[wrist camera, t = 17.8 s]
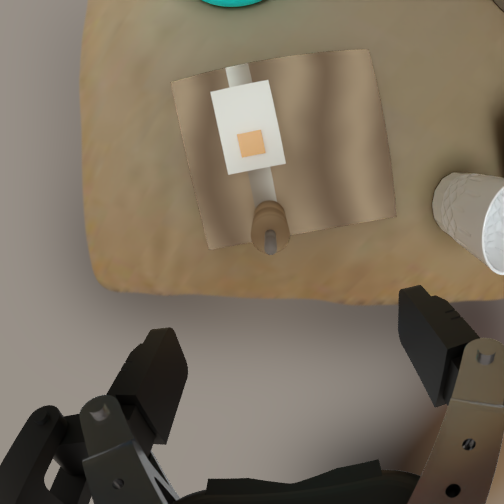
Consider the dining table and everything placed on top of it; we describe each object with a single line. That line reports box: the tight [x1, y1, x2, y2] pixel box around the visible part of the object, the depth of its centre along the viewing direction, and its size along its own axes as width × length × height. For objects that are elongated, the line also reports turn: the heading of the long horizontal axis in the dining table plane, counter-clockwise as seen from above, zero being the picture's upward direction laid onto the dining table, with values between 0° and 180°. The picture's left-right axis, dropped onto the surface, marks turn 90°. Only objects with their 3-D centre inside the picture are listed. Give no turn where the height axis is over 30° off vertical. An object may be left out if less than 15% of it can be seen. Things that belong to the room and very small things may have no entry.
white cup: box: [432, 172, 504, 275], centre depth 23 cm, size 8×8×10 cm
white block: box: [210, 80, 286, 175], centre depth 23 cm, size 4×6×7 cm, turn 12°
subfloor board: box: [171, 49, 397, 250], centre depth 27 cm, size 18×16×1 cm
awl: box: [251, 200, 290, 255], centre depth 24 cm, size 3×3×9 cm
